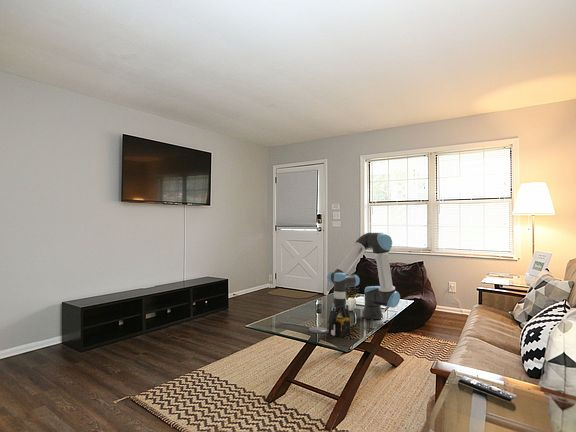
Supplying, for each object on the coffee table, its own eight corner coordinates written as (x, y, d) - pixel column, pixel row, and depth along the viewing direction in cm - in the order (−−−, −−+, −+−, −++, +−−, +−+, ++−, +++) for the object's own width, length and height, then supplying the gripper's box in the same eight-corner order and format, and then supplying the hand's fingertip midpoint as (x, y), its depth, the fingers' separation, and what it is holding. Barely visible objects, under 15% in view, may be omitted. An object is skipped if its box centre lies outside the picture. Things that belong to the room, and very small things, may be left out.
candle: (327, 333, 213) (328, 317, 213) (337, 330, 220) (338, 315, 220) (341, 337, 206) (341, 321, 206) (350, 334, 213) (351, 318, 213)
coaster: (318, 326, 228) (318, 325, 228) (331, 331, 218) (331, 330, 218) (305, 329, 221) (305, 328, 221) (317, 334, 211) (317, 333, 211)
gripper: (347, 294, 224) (347, 328, 223) (322, 298, 210) (321, 335, 209) (356, 296, 218) (356, 331, 217) (330, 300, 204) (330, 338, 203)
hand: (339, 333), depth 213 cm, fingers closed on candle, 10 cm apart
